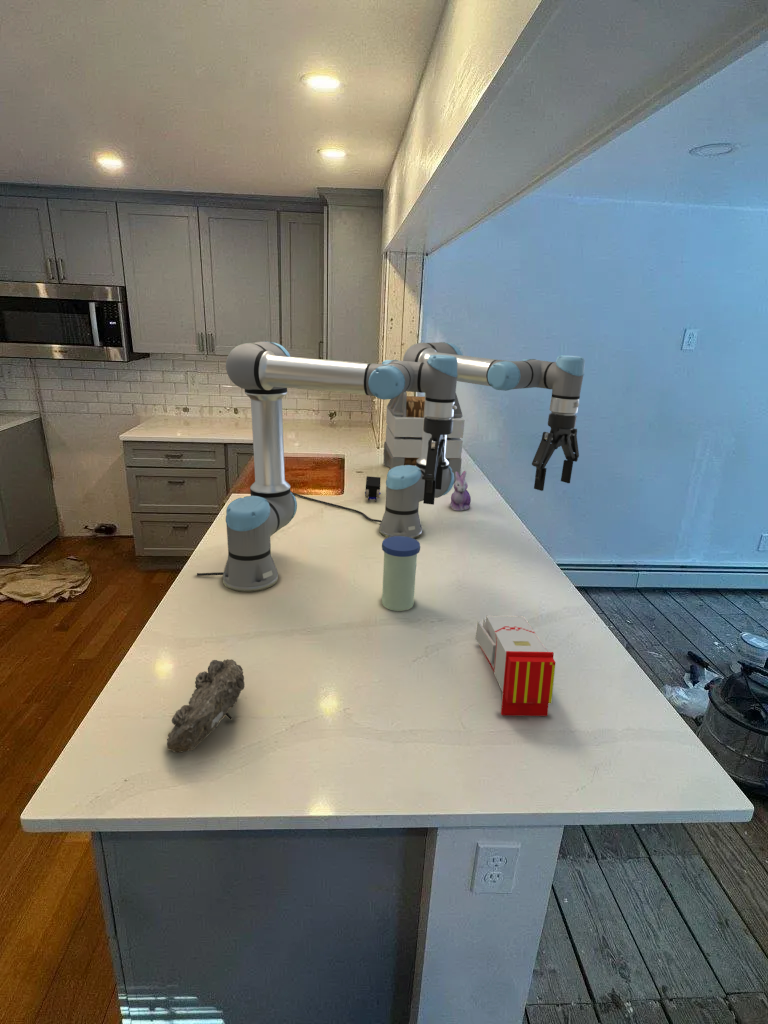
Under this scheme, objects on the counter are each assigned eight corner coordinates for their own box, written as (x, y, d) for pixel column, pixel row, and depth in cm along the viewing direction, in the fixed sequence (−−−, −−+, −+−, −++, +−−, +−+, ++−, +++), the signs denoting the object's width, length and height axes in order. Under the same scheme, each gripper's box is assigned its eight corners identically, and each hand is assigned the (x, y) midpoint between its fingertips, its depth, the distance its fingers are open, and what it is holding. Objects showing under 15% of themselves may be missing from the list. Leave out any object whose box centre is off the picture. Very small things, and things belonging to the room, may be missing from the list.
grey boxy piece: (382, 463, 289) (386, 382, 275) (445, 464, 293) (451, 384, 279) (390, 482, 257) (394, 392, 243) (460, 483, 261) (468, 394, 247)
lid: (427, 550, 148) (428, 544, 147) (401, 560, 141) (401, 554, 140) (400, 538, 154) (400, 533, 154) (373, 547, 148) (374, 542, 147)
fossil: (192, 660, 117) (244, 628, 112) (224, 691, 120) (276, 661, 115) (142, 746, 98) (202, 712, 93) (182, 779, 101) (242, 748, 96)
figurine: (457, 512, 223) (460, 476, 218) (443, 504, 231) (446, 469, 226) (477, 509, 227) (480, 473, 222) (462, 502, 236) (465, 467, 230)
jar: (420, 604, 153) (424, 545, 147) (397, 614, 147) (401, 554, 142) (397, 592, 159) (400, 536, 153) (375, 602, 153) (377, 543, 147)
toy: (522, 601, 137) (564, 658, 107) (517, 652, 139) (557, 722, 110) (472, 600, 136) (500, 657, 107) (468, 651, 139) (495, 721, 110)
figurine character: (380, 506, 230) (380, 491, 243) (381, 489, 227) (381, 475, 240) (364, 506, 230) (364, 491, 243) (364, 489, 226) (365, 474, 240)
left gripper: (447, 427, 133) (440, 512, 140) (458, 411, 156) (452, 484, 163) (415, 424, 135) (410, 508, 142) (431, 408, 158) (426, 481, 165)
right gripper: (548, 419, 148) (537, 496, 155) (598, 411, 163) (586, 482, 171) (525, 414, 153) (515, 489, 160) (575, 407, 169) (564, 476, 176)
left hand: (432, 496), depth 153 cm, fingers open, 13 cm apart
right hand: (552, 485), depth 166 cm, fingers open, 13 cm apart
